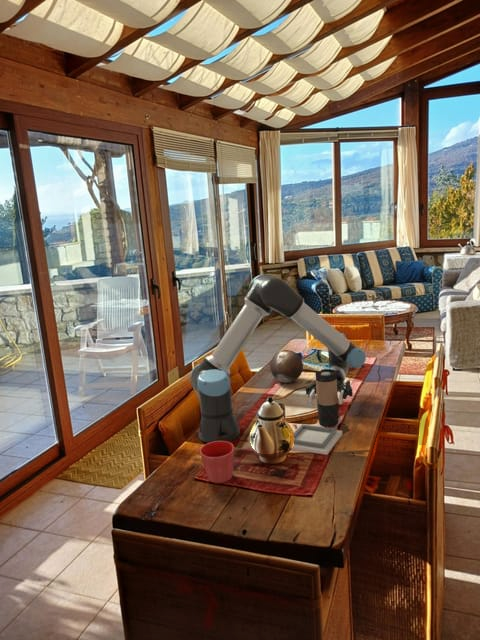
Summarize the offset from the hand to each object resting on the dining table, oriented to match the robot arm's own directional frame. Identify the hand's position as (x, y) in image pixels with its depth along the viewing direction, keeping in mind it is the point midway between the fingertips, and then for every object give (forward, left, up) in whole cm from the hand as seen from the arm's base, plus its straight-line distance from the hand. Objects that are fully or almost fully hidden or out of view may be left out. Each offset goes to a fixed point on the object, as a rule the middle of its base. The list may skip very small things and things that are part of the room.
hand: (325, 399), depth 186 cm
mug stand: (-1, -11, -11) cm, 15 cm away
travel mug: (-1, +4, -11) cm, 12 cm away
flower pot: (-20, -43, -11) cm, 48 cm away
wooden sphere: (-34, +41, -11) cm, 54 cm away
